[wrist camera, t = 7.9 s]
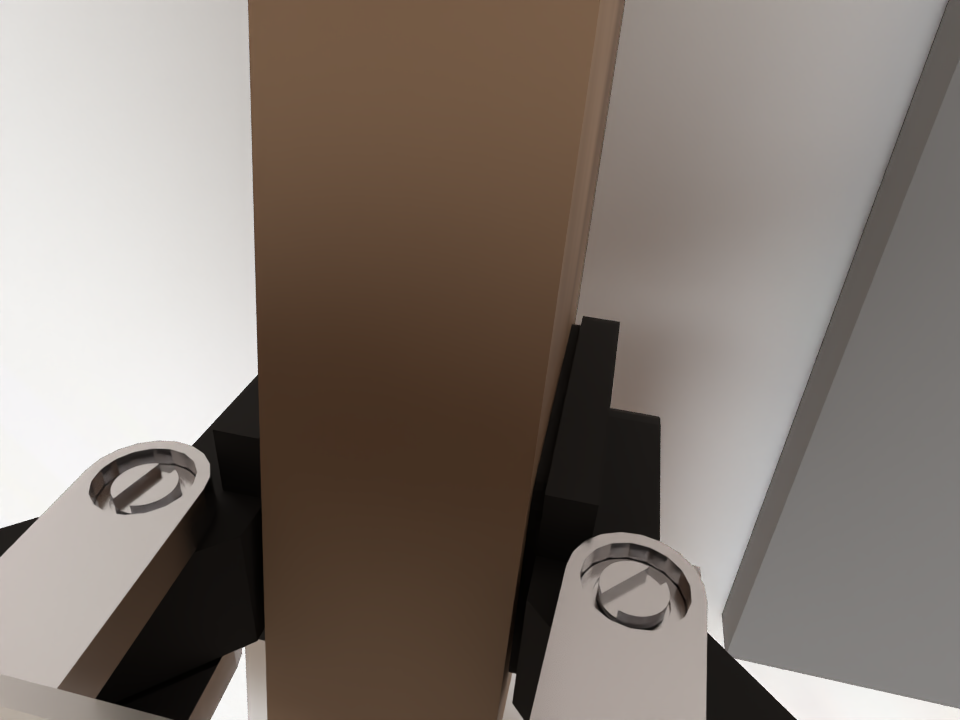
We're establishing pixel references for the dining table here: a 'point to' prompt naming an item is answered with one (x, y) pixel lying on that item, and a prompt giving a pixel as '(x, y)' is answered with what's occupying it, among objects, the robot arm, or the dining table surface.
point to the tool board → (876, 443)
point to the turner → (411, 333)
